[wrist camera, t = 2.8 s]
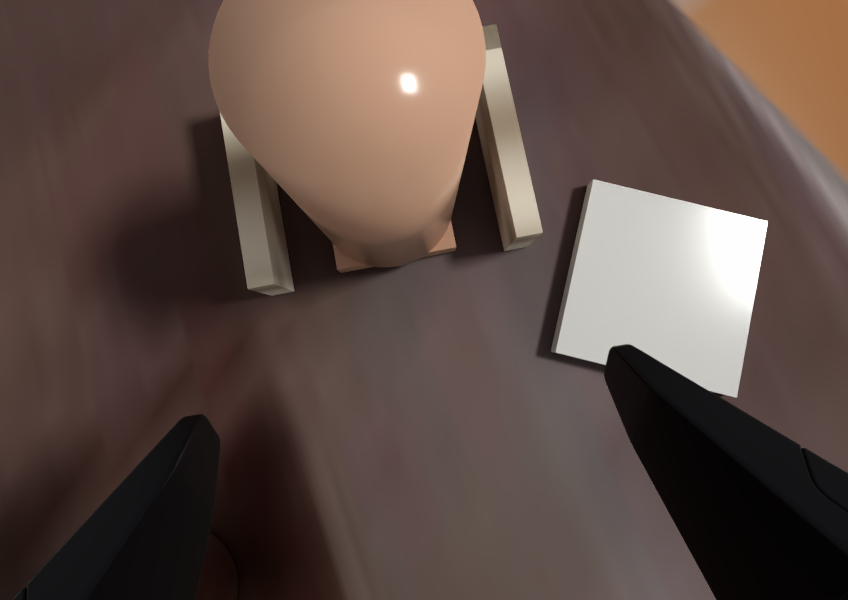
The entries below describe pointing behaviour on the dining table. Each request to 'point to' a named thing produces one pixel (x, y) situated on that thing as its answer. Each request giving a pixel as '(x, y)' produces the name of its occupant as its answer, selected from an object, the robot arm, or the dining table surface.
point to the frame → (502, 161)
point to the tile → (661, 284)
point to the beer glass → (218, 573)
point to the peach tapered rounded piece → (356, 113)
